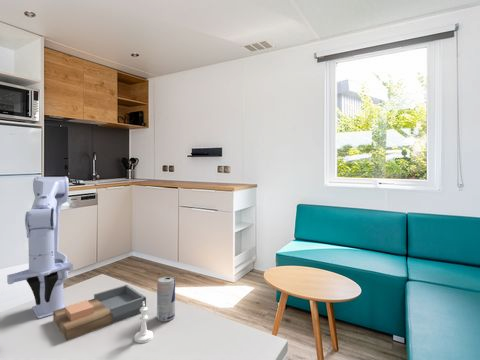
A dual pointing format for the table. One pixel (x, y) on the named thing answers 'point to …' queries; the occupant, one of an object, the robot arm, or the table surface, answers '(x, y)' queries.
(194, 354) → the table surface
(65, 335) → the walnut plate
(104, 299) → the tray
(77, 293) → the table surface
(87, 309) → the terracotta tile
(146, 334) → the chess piece
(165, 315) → the energy drink
